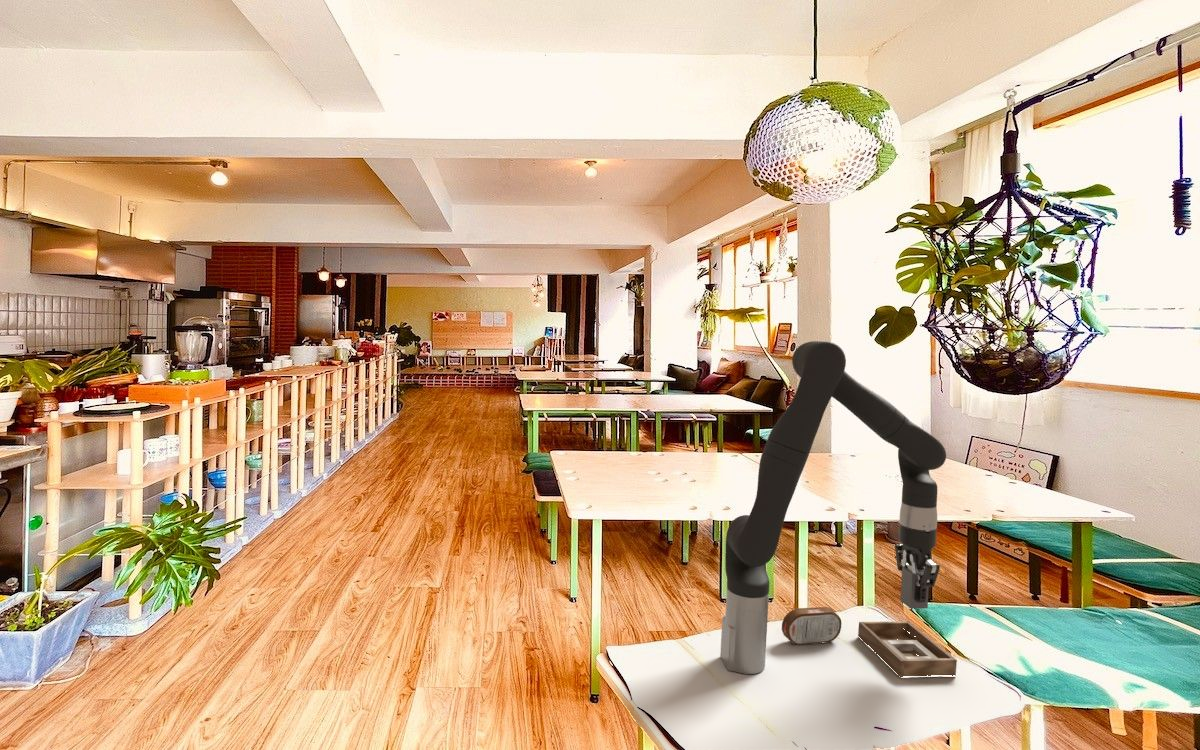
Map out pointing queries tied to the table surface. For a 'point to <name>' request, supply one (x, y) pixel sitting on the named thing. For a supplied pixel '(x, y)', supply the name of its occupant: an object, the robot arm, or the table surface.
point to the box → (907, 649)
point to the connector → (911, 589)
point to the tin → (811, 625)
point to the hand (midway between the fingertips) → (914, 596)
